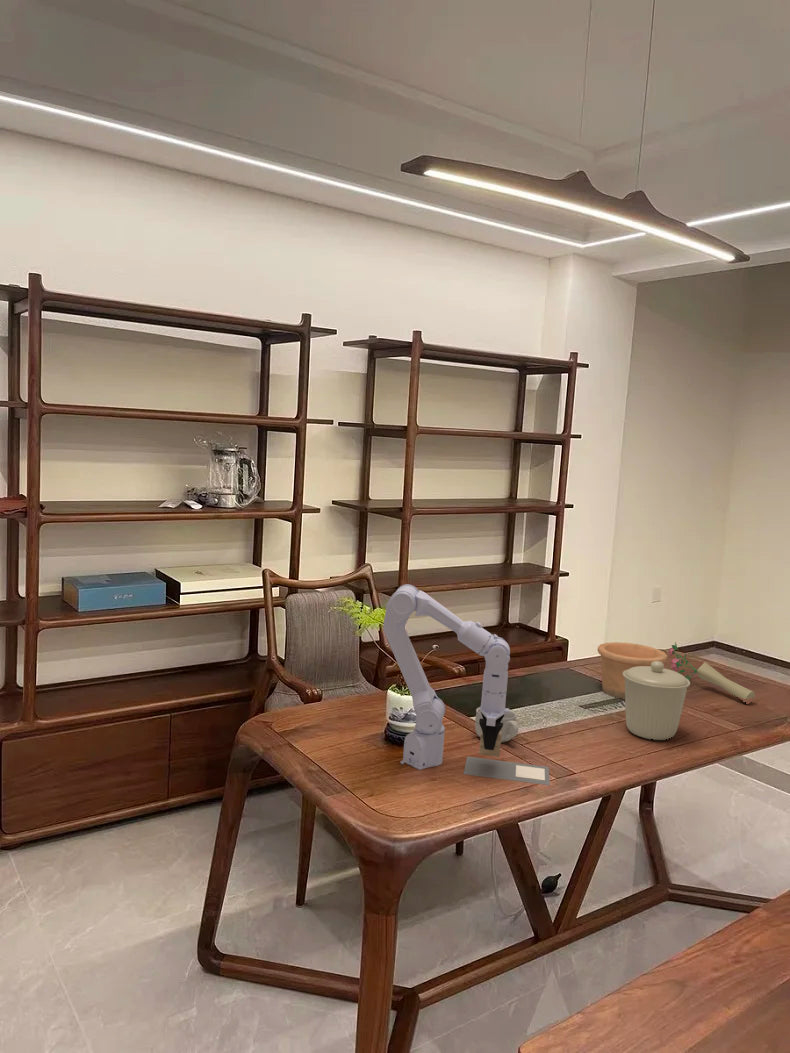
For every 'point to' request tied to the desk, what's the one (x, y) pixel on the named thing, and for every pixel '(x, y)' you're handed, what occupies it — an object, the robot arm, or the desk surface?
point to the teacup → (507, 730)
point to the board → (507, 770)
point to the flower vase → (710, 676)
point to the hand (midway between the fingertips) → (489, 745)
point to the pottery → (624, 663)
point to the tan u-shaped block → (496, 749)
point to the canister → (654, 700)
